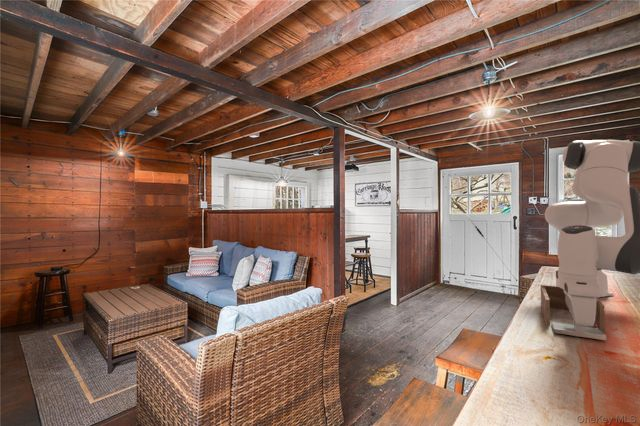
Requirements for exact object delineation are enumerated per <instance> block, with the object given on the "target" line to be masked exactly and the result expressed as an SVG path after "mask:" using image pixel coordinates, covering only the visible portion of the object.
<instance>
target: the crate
mask: <svg viewBox="0 0 640 426" xmlns="http://www.w3.org/2000/svg"><path fill="white" fill-rule="evenodd" d="M540 307H541V309H542V314H543V318H544V321H545V324H546V325H551V310H550V309H554V308H555V309H554V310H562V309H564V310H565V311H570V310H569V308H568V307H567V305H566V302H565V293H564V290H563V289H562V288H560V287H556V285H555V286H554V285H553V286H552V285H542V284H540ZM605 319H606V314H605V304H604V303H602V301H601V300H600V299H599V297H596V316H595V323H594V325H595V327H597V328H598V329H600V330H601V331H602V332H603V333H606V321H605Z"/></svg>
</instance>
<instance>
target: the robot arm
mask: <svg viewBox="0 0 640 426" xmlns="http://www.w3.org/2000/svg"><path fill="white" fill-rule="evenodd" d="M562 161H563V165H564V166H565V167H566V168H568V169H571V170H576V172H575V176H574V179H573V183H572V187H571V189H572V190H571V191H572V192H573V194H574V195H575V196H576V197H577V198H579V199H582V201H562V202H561V201H560V202H555V203H552V204H551V203H550V204H549V205H548V206H547V207H546V209H545V211H544V220H545V222H547V223H548V225H549V226H552V227H553V228H555V229H556V231H558V232H559V234H558V240H557V258H558V261H559V263H558V264H559V265H558V268H557V270H558V286H559V287H560V288H562V289H563V290H564V293H565V302H566V305H567V307H568V308H569V310H568V311H569V312H570V314H571V316H572V320H573V325H574V328H575V330H576V331H577V332H584V327H593V326H594V325H595V316H596V297H597V298H605V297H613V296H614V295H615V294H614V292H613V291H611V290H610V289H609V284H608V275H607V274H606V273H605V272H603V271H602V270H607V271H614V272H615V271H616V272H619V273H624V274H629V275H633V276H634V275H635V276H636V275H637V274H640V191H639V190H638V188H637V187H635V186H632V185H630V184H629V182H628V173H636V172H639V171H640V141H639V140H638V141H637V140H632V141H631V140H630V141H629V140H621V139H592V140H583V139H581V140H573V141H571V142H570V143H568V145H567V146H566V147H565V149H564V151H563V154H562ZM622 219H623V223H624V224H623V225H624V230H625V231H624V232H625V233H624V235H621V236H605V235H603V236H601V235H596V232H595V229H594V228H604V227H611V226H616V225H618V224H619V223H620V222H621V220H622Z"/></svg>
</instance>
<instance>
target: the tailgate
mask: <svg viewBox="0 0 640 426" xmlns="http://www.w3.org/2000/svg"><path fill="white" fill-rule="evenodd" d="M550 325H551V327H552V330H553V333H555V334H561V335H567V336H568V335H569V336H574V337H582V338H587V339H595V340H601V341H607V336H606V334H604V332H602V331H601V330H600V329H598V328H596V327H592V326H584V332H577V331H576V330H575V328H574V324H567V323H560V322H554V321H553V322H552V321H550Z"/></svg>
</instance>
